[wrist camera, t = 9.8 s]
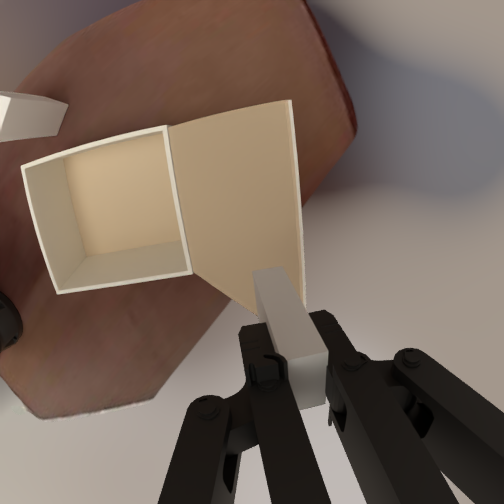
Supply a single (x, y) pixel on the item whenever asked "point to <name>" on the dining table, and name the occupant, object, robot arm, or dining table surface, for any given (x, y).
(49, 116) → the milk
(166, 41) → the dining table surface
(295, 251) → the flap
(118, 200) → the carton
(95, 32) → the dining table surface
